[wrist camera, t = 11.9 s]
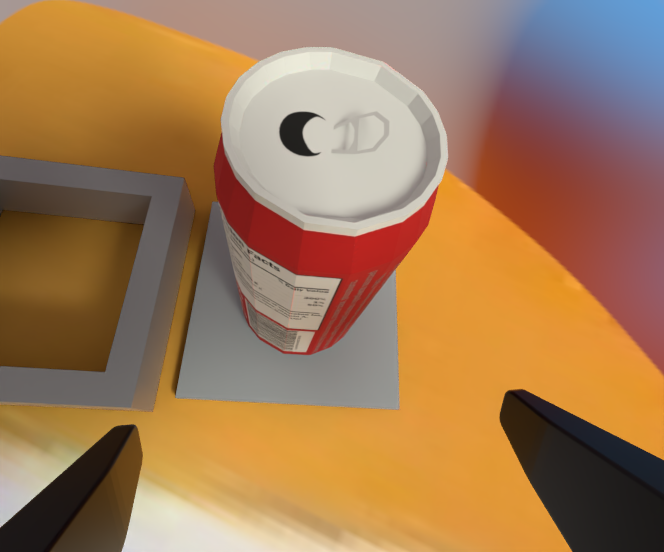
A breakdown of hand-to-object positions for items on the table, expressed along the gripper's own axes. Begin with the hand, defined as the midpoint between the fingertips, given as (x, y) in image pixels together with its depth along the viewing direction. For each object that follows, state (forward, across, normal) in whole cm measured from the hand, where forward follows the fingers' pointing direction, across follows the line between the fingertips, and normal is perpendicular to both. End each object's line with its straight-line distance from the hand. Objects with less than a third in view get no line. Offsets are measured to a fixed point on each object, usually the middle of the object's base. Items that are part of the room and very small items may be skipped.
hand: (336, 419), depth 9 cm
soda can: (+10, 0, +2) cm, 10 cm away
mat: (+10, 0, +2) cm, 10 cm away
